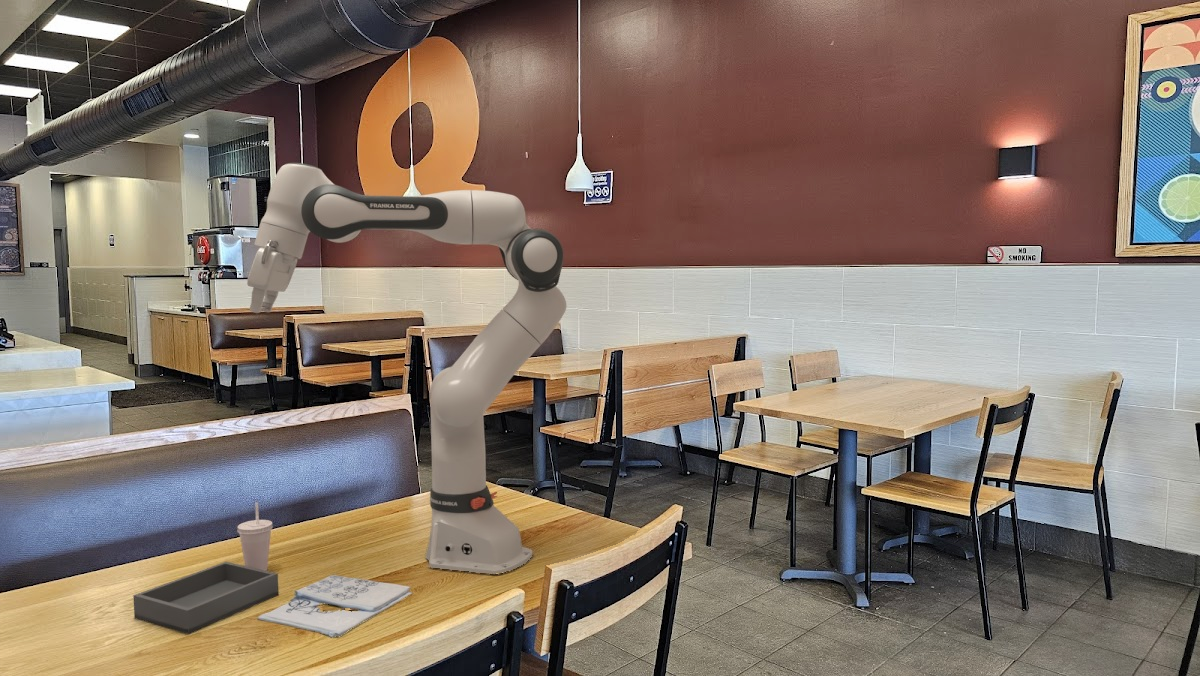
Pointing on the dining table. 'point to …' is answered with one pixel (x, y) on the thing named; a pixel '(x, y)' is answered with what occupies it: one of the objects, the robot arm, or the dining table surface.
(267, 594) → the tray
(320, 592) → the folded bicycle print cloth
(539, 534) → the dining table surface
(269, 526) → the smoothie
